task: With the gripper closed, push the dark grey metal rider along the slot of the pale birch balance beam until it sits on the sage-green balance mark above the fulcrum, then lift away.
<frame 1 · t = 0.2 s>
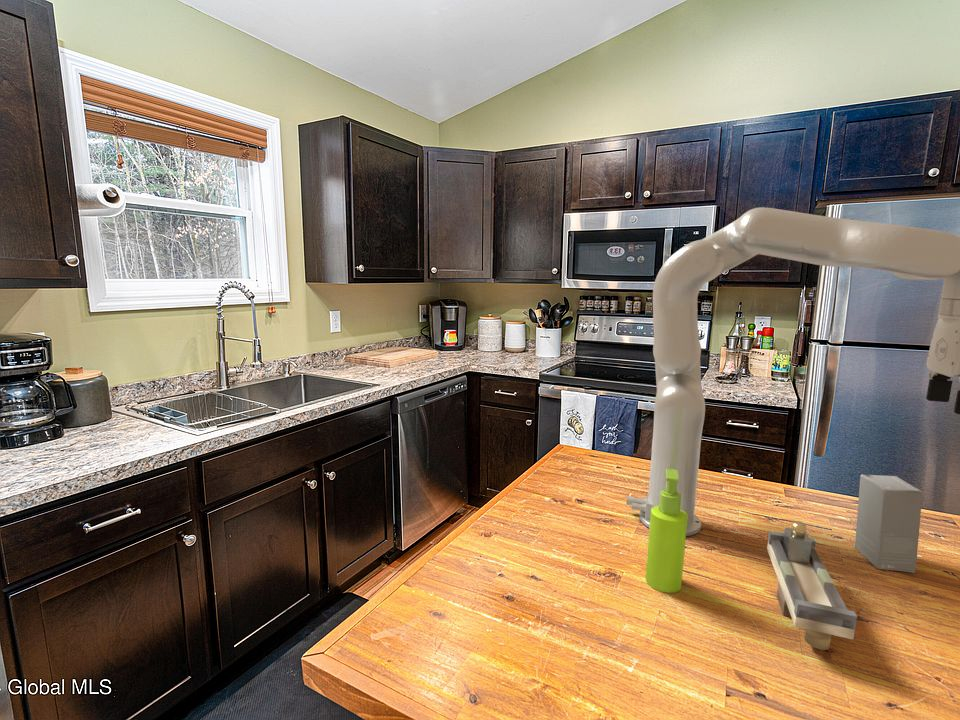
hand: (951, 407, 88), 31 cm above the worktop, tool pointing down, fingers open, 9 cm apart
soap dispenser: (663, 581, 88), on the worktop
skincare box: (880, 560, 95), on the worktop
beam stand: (801, 610, 80), on the worktop
rider: (797, 540, 85), point 9 cm above the worktop, slide at 7.0 cm
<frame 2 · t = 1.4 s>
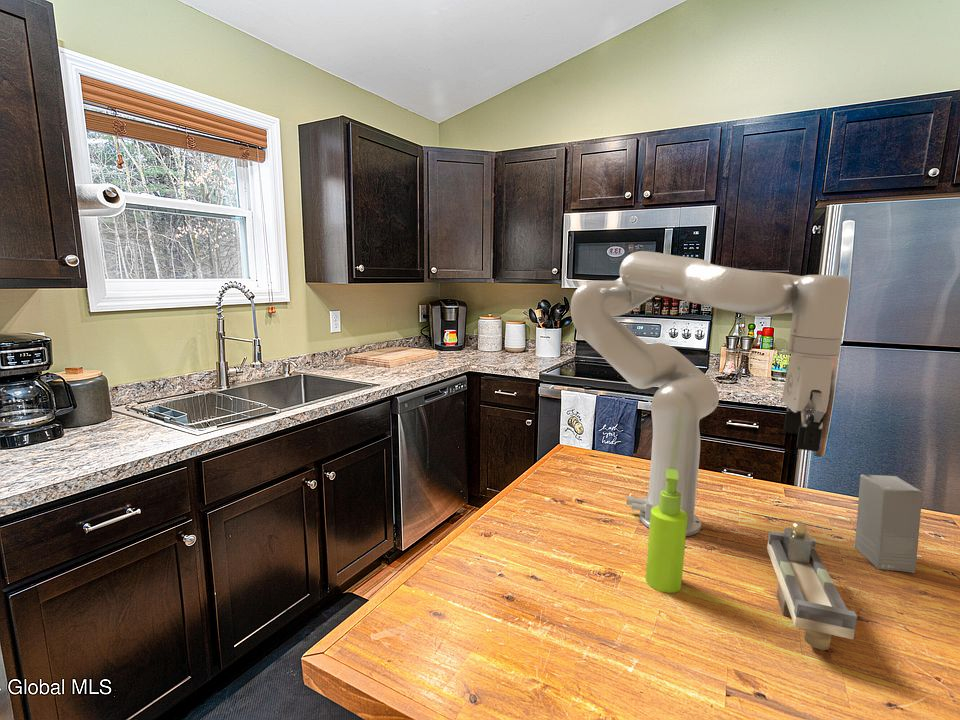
hand: (799, 440, 89), 24 cm above the worktop, tool pointing down, fingers open, 9 cm apart
nothing on the worktop moved.
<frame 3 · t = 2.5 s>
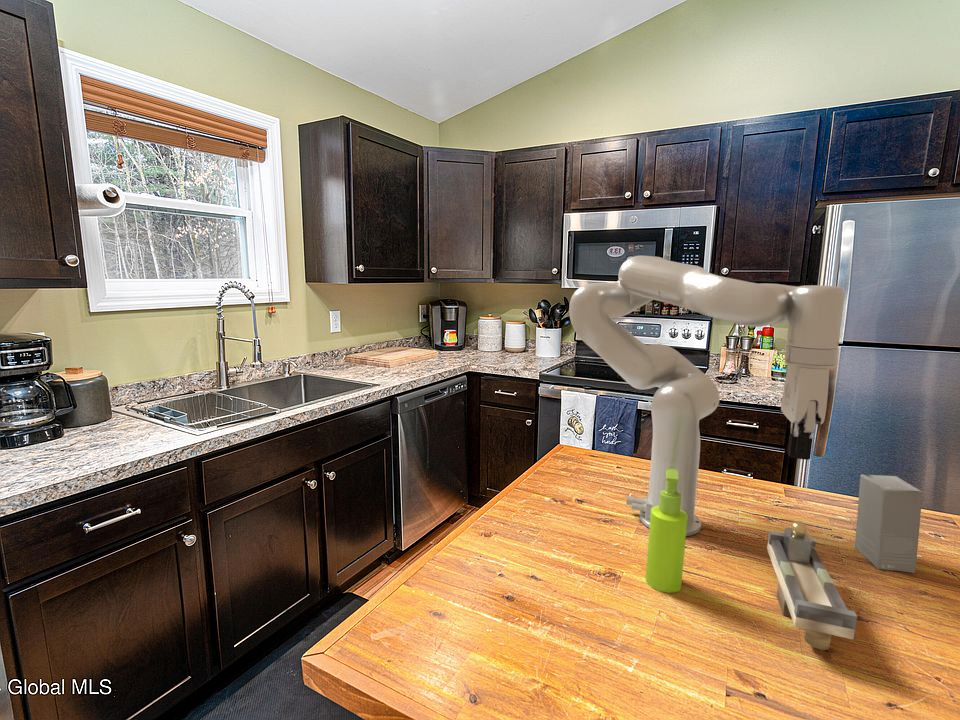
hand: (798, 457, 89), 21 cm above the worktop, tool pointing down, fingers closed
nothing on the worktop moved.
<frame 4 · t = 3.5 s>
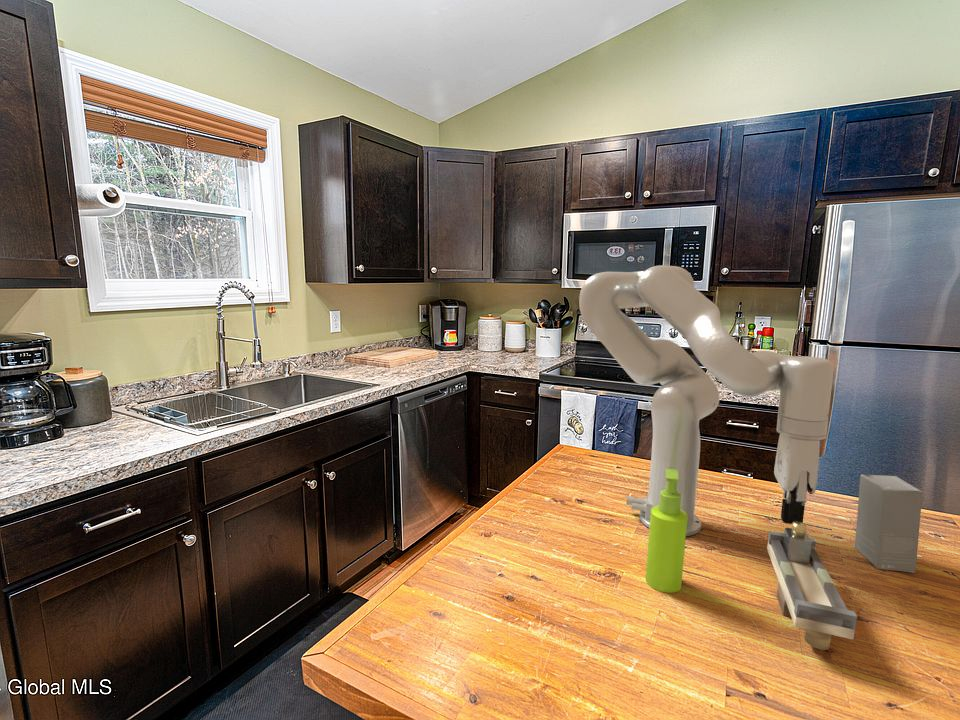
hand: (791, 521, 91), 9 cm above the worktop, tool pointing down, fingers closed
nothing on the worktop moved.
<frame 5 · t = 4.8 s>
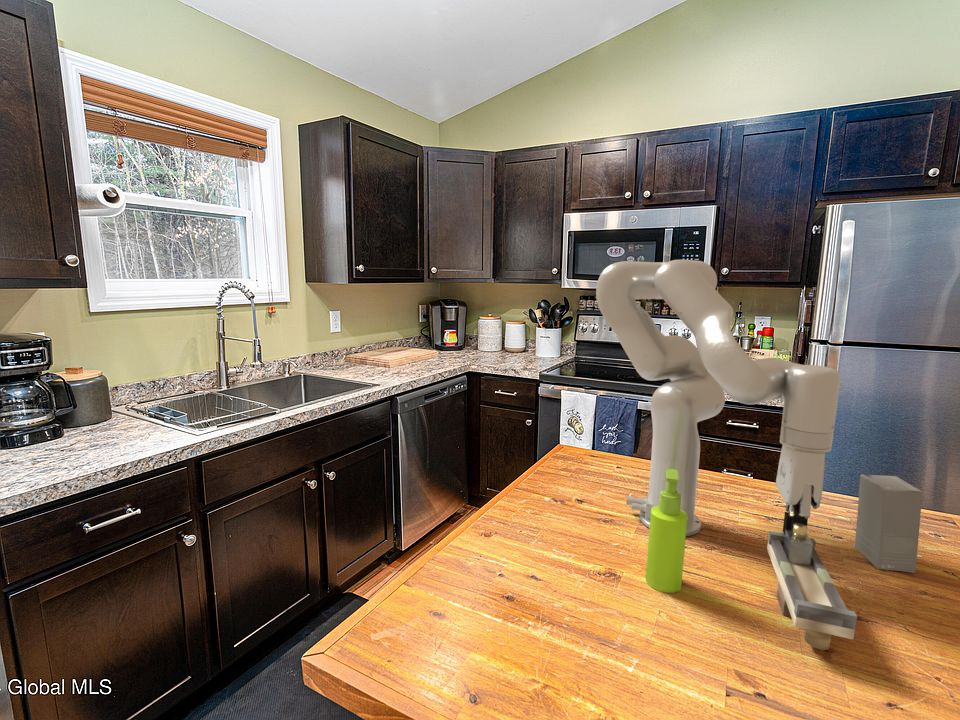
hand: (793, 536, 88), 8 cm above the worktop, tool pointing down, fingers closed
rider: (798, 542, 85), point 9 cm above the worktop, slide at 6.3 cm, touching gripper
everything else where it was.
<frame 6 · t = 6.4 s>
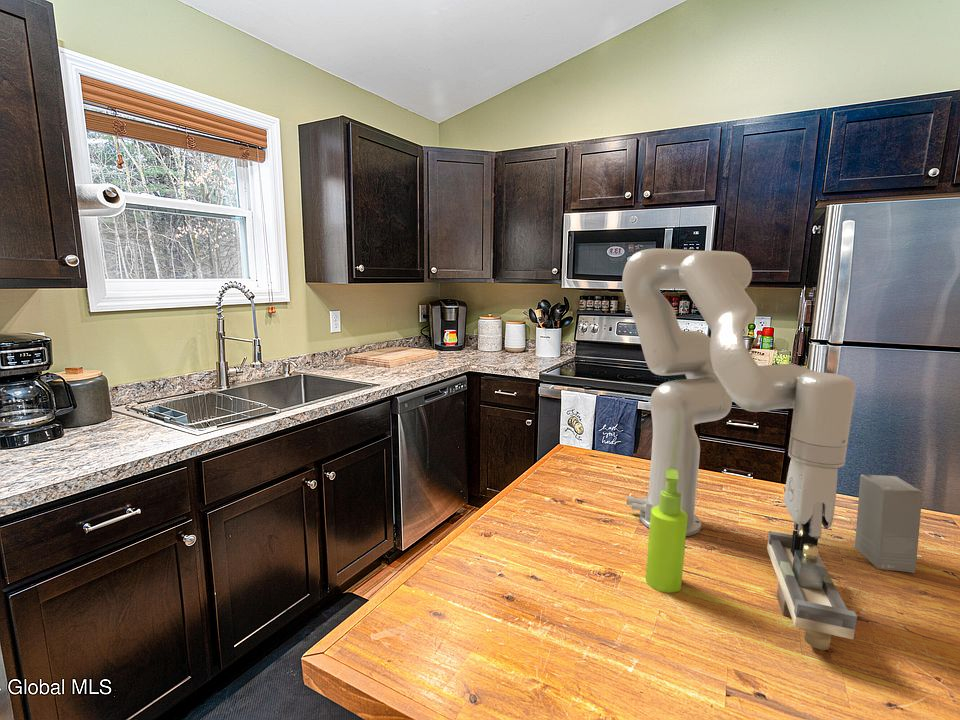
hand: (802, 556, 82), 8 cm above the worktop, tool pointing down, fingers closed
rider: (808, 563, 78), point 9 cm above the worktop, slide at -0.7 cm, touching gripper
everything else where it was.
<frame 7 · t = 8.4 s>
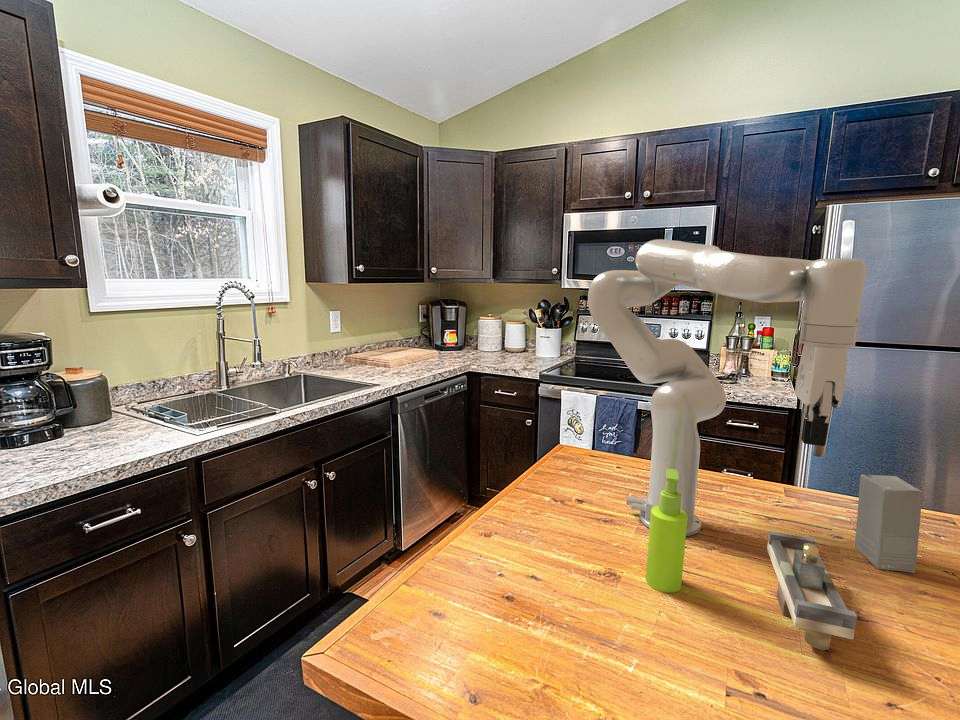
hand: (812, 443, 84), 25 cm above the worktop, tool pointing down, fingers closed
rider: (808, 564, 78), point 9 cm above the worktop, slide at -0.7 cm
everything else where it was.
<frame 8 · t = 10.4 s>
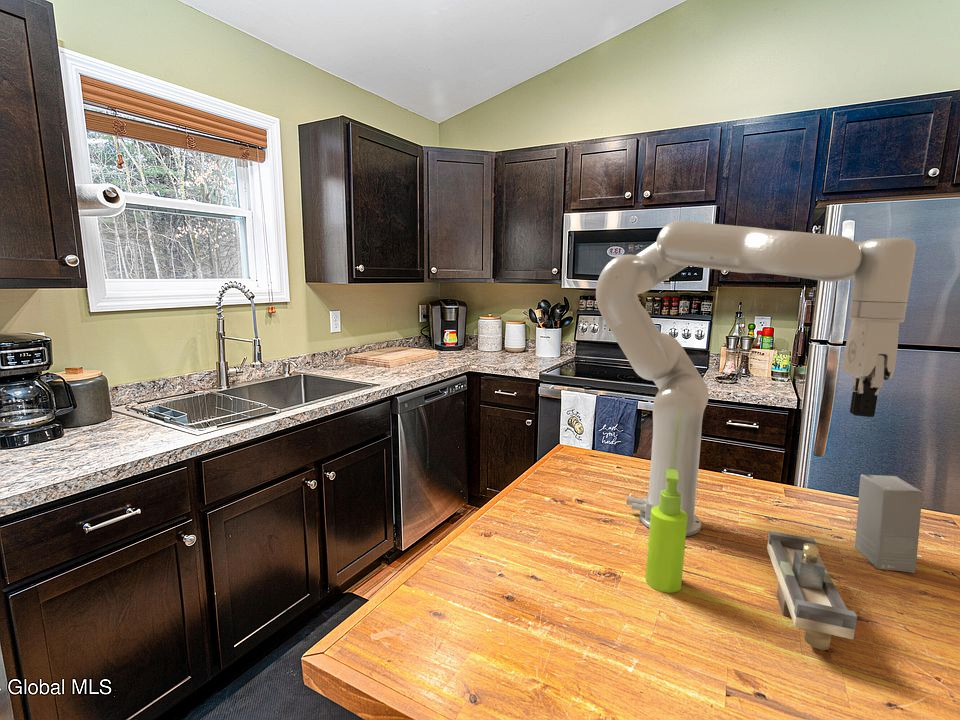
hand: (861, 414, 89), 29 cm above the worktop, tool pointing down, fingers closed
nothing on the worktop moved.
at the end: rider slide at -0.7 cm; rider touching nothing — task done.
